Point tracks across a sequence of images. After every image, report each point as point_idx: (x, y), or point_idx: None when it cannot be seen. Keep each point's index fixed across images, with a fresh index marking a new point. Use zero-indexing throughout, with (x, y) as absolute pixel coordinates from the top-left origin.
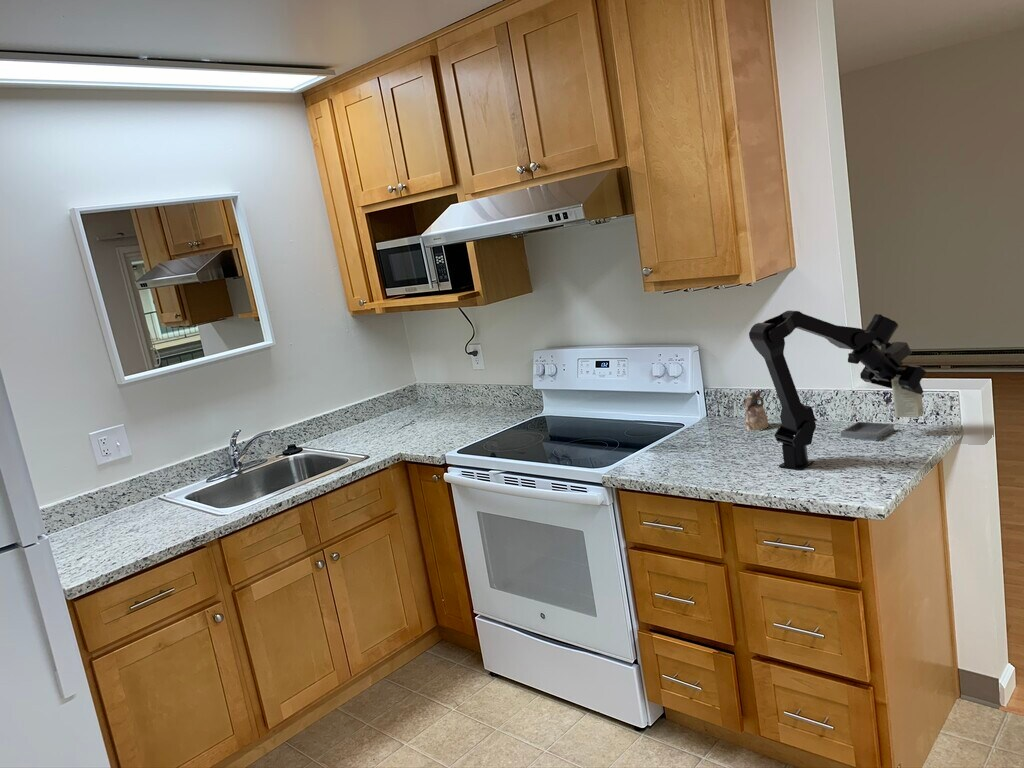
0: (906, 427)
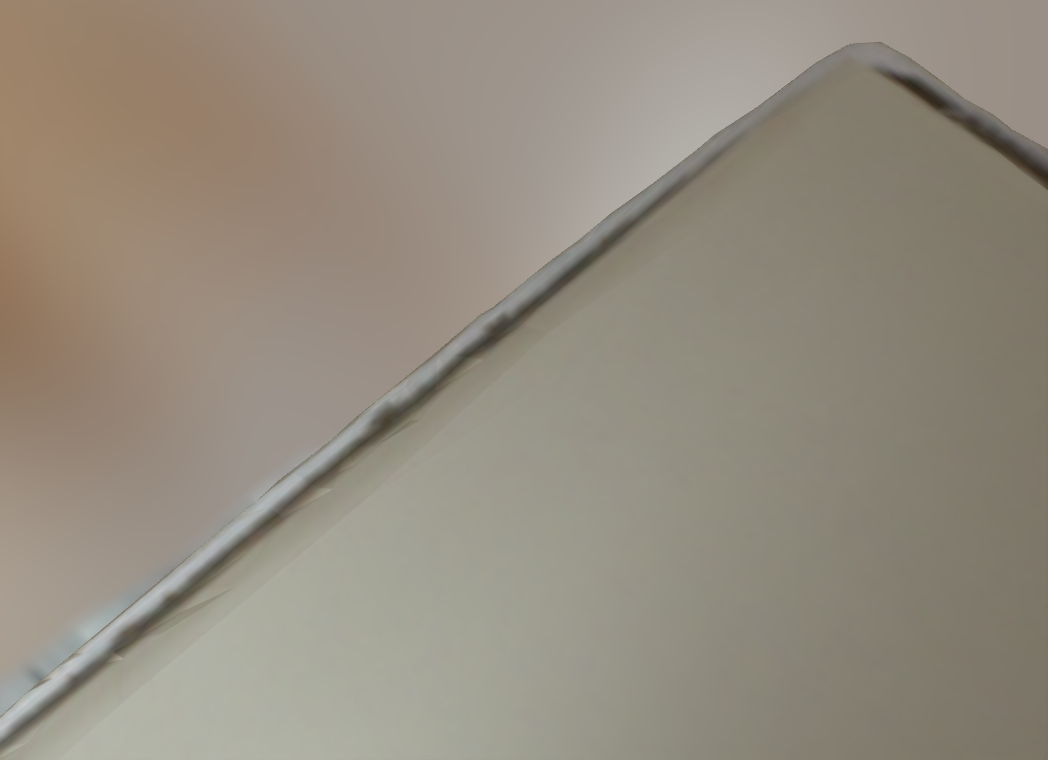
0: None
